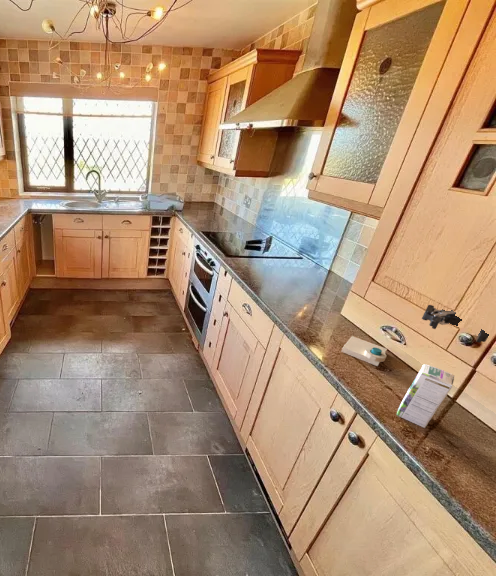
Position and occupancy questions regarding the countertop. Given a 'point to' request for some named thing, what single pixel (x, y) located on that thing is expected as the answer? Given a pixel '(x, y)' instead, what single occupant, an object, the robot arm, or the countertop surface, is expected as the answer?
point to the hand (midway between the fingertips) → (456, 332)
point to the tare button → (376, 351)
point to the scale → (364, 350)
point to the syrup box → (425, 395)
